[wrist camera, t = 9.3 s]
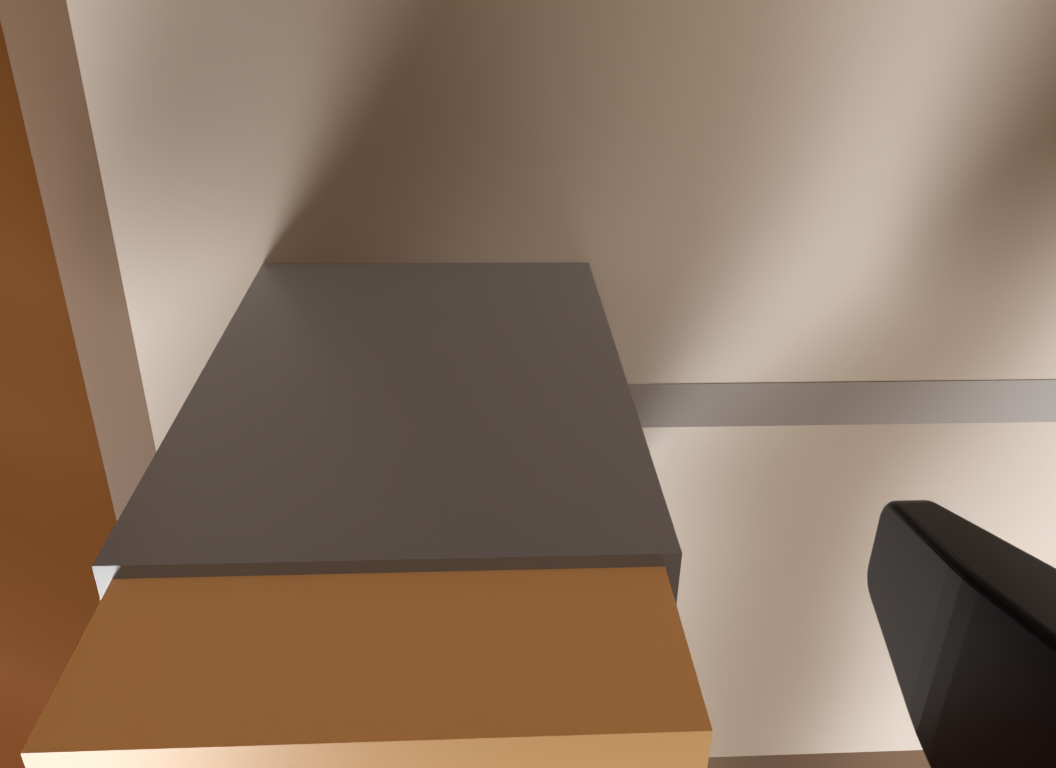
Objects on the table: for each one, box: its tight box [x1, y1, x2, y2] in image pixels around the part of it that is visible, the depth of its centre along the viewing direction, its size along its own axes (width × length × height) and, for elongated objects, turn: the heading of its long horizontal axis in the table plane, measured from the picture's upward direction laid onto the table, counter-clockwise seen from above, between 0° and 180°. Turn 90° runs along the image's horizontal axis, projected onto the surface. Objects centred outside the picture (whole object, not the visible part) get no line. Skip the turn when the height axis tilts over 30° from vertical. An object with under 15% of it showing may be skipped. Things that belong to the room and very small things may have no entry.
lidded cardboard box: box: [21, 263, 713, 768], centre depth 8 cm, size 4×4×6 cm
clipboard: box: [0, 0, 1056, 768], centre depth 11 cm, size 20×14×1 cm
